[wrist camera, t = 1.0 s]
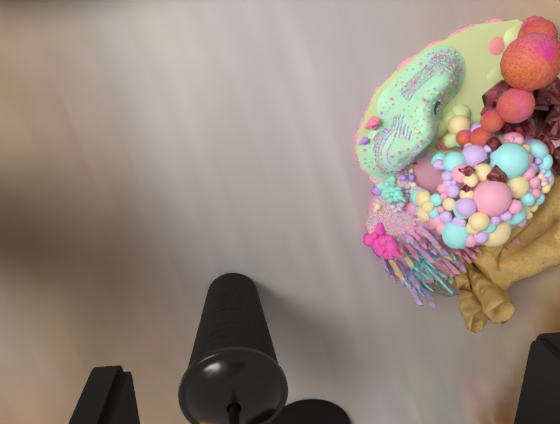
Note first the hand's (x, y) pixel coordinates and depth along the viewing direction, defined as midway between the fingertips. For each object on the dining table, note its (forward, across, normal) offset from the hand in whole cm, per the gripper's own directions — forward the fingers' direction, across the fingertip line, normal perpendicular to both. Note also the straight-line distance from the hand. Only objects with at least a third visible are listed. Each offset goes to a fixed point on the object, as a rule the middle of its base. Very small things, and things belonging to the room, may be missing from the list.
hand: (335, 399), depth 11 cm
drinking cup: (+31, +4, +16) cm, 35 cm away
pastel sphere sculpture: (+32, -19, +4) cm, 37 cm away
